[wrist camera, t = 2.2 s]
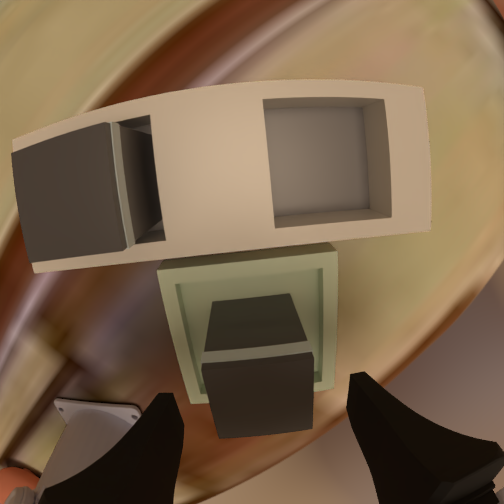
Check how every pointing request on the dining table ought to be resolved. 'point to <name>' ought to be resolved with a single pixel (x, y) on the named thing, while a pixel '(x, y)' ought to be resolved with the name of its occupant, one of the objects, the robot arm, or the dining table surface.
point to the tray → (247, 286)
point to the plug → (258, 367)
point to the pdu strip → (272, 165)
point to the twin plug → (86, 192)
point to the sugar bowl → (15, 481)
